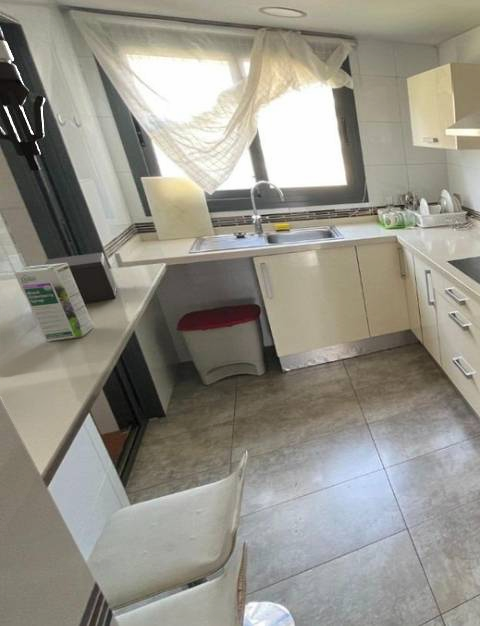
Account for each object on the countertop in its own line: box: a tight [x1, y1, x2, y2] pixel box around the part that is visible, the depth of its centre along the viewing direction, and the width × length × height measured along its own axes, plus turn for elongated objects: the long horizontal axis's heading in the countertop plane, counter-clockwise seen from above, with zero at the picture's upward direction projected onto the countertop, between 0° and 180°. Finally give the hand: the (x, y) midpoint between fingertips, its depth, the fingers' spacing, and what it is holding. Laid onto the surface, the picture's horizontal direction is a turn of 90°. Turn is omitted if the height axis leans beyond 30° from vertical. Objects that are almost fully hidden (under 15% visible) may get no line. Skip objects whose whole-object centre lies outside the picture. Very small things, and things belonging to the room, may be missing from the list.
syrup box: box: [14, 263, 94, 343], centre depth 91 cm, size 6×6×14 cm
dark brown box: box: [70, 255, 117, 304], centre depth 114 cm, size 12×10×9 cm
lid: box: [44, 251, 105, 270], centre depth 112 cm, size 12×10×1 cm
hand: (35, 169), depth 113 cm, fingers closed
